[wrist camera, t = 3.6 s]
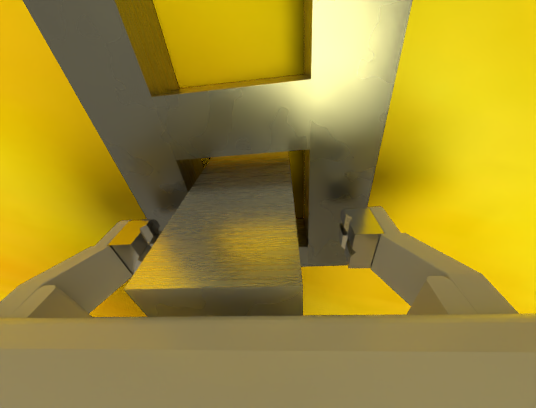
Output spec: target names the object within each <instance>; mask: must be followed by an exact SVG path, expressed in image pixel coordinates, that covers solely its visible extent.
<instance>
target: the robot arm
mask: <svg viewBox="0 0 536 408" xmlns="http://www.w3.org/2000/svg"><path fill="white" fill-rule="evenodd" d="M340 218H341V220H342V223H341V224H339V240H340V244H341V247H343V248H344V249H345V252H344V256H345V259H346V262H347V265H348V268H371V270H372V271H373V272H375V273H376V274H377V275H378V276H379V277H380V278H381V279H382V280H383V281H384V282H385V283H386V284H388V285H389V286H390V287H391V288H392V289H393V290H394V291H395V292H396V293H397V294H398V295H400V296H401V297H402V298H403V299H404V300H405V301H406V302H407V303H408V304H409V305H410V306H411V308H410V309H409V311H408V313H407V315H305V316H188V317H92V316H91V315H90V314H89V313H90V312H91V311H92V310H94V309H95V308H96V307H97V306H98V305H99V304H101V303H102V302H103V301H104V300H105V299H106V298H108V297H109V296H110V295H111V294H112V293H113V292H114V291H116V290H117V289H118V288H119V287H120V286H121V285H123V284H124V283H125V282H126V281H127V280H128V279H130V278H131V277H132V276H133V275H134V273H135V272H136V270H137V269H138V267H139V266H140V264H141V263H142V261H143V260H144V258H145V257H146V255H147V254H148V252H149V251H150V249H151V248H152V246H153V245H154V243H155V242H156V240H157V239H158V237H159V236H160V234H161V233H162V231H160V230H159V228H160V225H159V223H158V221H157V220H154V219H142V220H122V221H119V222H118V223H117V224H116V225H115V226H114V227H113V228H112V229H111V230H110V231H109V232H108V233H107V234H106V235H105V236H104V237H103V238H102V239H101V240H100V241H99V242H98V243H97V244H96V245H95V246H93V247H89V248H87V249H85V250H84V251H82V252H80V253H78V254H76V255H74V256H72V257H71V258H69V259H67V260H65V261H63V262H61V263H59V264H58V265H56V266H54V267H52V268H50V269H48V270H46V271H45V272H43V273H41V274H39V275H37V276H35V277H33V278H32V279H30V280H28V281H26V282H24V283H22V284H20V285H19V286H18V287H17V288H16V289H14V290H13V291H12V292H11V293H10V294H9V295H8V296H6V297H5V298H4V299H3V300H2V301H1V302H0V408H536V314H519V313H518V312H517V311H516V310H515V309H514V308H513V307H512V306H511V305H510V304H509V303H508V301H507V300H506V299H505V298H504V297H503V296H502V295H501V294H500V293H499V292H498V291H497V290H496V289H495V288H494V287H493V285H492V284H491V283H490V282H489V281H488V280H487V279H486V278H485V277H484V276H483V275H482V274H481V273H479V272H477V271H475V270H473V269H471V268H469V267H468V266H466V265H464V264H462V263H460V262H458V261H456V260H454V259H453V258H451V257H449V256H447V255H445V254H443V253H441V252H439V251H438V250H436V249H434V248H432V247H430V246H428V245H426V244H424V243H423V242H421V241H419V240H417V239H415V238H413V237H411V236H410V235H408V234H406V233H400V231H399V230H398V228H397V227H396V226H395V224H394V223H393V221H392V220H391V219H390V217H389V216H388V214H387V213H386V212H385V210H384V209H383V207H381V206H375V207H367V208H351V209H342V210H341V214H340Z"/></svg>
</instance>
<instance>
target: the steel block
mask: <svg viewBox="0 0 536 408" xmlns="http://www.w3.org/2000/svg"><path fill="white" fill-rule="evenodd" d="M124 290H125V292H126V293H127V294H128V295H129V296H130V297H131V298H132V299H133V301H134V302H135V303H136V304H137V305H138V306H139V307H140V309H141V310H142V311H143V312H144V313H145V314H146V315H147V316H148V317H188V316H303V285H302V275H301V266H300V256H299V246H298V237H297V227H296V218H295V208H294V198H293V189H292V179H291V170H290V160H289V151H283V152H271V153H259V154H246V155H234V156H222V157H212V158H211V159H210V161H209V162H208V164H207V165H206V167H205V168H204V170H203V171H202V173H201V174H200V176H199V177H198V179H197V180H196V182H195V183H194V185H193V186H192V188H191V189H190V191H189V192H188V194H187V195H186V197H185V198H184V200H183V201H182V203H181V204H180V206H179V207H178V209H177V210H176V212H175V213H174V215H173V216H172V218H171V219H170V221H169V222H168V224H167V225H166V227H165V228H164V230H163V231H162V233H161V234H160V236H159V237H158V239H157V240H156V242H155V243H154V245H153V246H152V248H151V249H150V251H149V252H148V254H147V255H146V257H145V258H144V260H143V261H142V263H141V264H140V266H139V267H138V269H137V270H136V272H135V273H134V275H133V276H132V278H131V279H130V281H129V282H128V284H127V285H126V287H125V288H124Z"/></svg>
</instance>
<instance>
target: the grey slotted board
mask: <svg viewBox="0 0 536 408" xmlns="http://www.w3.org/2000/svg"><path fill="white" fill-rule="evenodd" d="M412 1H413V0H304V74H300V75H291V76H283V77H274V78H265V79H256V80H248V81H239V82H230V83H221V84H213V85H204V86H195V87H187V88H179V86H178V83H177V80H176V77H175V73H174V70H173V67H172V64H171V60H170V57H169V54H168V51H167V47H166V44H165V41H164V38H163V34H162V31H161V28H160V25H159V21H158V18H157V15H156V12H155V8H154V5H153V2H152V0H23V2H24V4H25V5H26V7H27V9H28V11H29V12H30V14H31V16H32V18H33V19H34V21H35V23H36V25H37V26H38V28H39V30H40V32H41V33H42V35H43V37H44V39H45V40H46V42H47V44H48V46H49V47H50V49H51V51H52V53H53V54H54V56H55V58H56V60H57V61H58V63H59V65H60V67H61V68H62V70H63V72H64V74H65V76H66V77H67V79H68V81H69V83H70V84H71V86H72V88H73V90H74V91H75V93H76V95H77V97H78V98H79V100H80V102H81V104H82V105H83V107H84V109H85V111H86V112H87V114H88V116H89V118H90V119H91V121H92V123H93V125H94V126H95V128H96V130H97V132H98V133H99V135H100V137H101V139H102V140H103V142H104V144H105V146H106V147H107V149H108V151H109V153H110V155H111V156H112V158H113V160H114V162H115V163H116V165H117V167H118V169H119V170H120V172H121V174H122V176H123V177H124V179H125V181H126V183H127V184H128V186H129V188H130V190H131V191H132V193H133V195H134V197H135V198H136V200H137V202H138V204H139V205H140V207H141V209H142V211H143V212H144V214H145V216H146V218H147V219H154V220H157V221H158V223H159V225H160V228H159V230H160V231H163V230H164V228H165V227H166V225H167V224H168V222H169V221H170V219H171V218H172V216H173V215H174V213H175V212H176V210H177V209H178V207H179V206H180V204H181V203H182V201H183V200H184V198H185V197H186V195H187V194H188V192H189V191H190V189H191V188H192V186H193V185H194V183H195V182H196V180H197V179H198V177H199V176H200V174H201V173H202V171H203V170H204V168H203V164H202V161H201V158H209V157H222V156H234V155H246V154H259V153H271V152H283V151H296V150H304V218H296V227H297V237H298V246H299V256H300V266H301V267H304V266H338V265H347V262H346V259H345V256H344V252H345V249H344V248H343V247H341V244H340V240H339V224H341V223H342V220H341V218H340V214H341V210H342V209H351V208H367V205H368V200H369V196H370V191H371V187H372V182H373V177H374V173H375V168H376V164H377V159H378V155H379V150H380V146H381V141H382V137H383V132H384V128H385V123H386V119H387V114H388V109H389V105H390V100H391V96H392V91H393V87H394V82H395V78H396V73H397V69H398V64H399V60H400V55H401V50H402V46H403V41H404V37H405V32H406V28H407V23H408V19H409V14H410V10H411V5H412Z"/></svg>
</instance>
